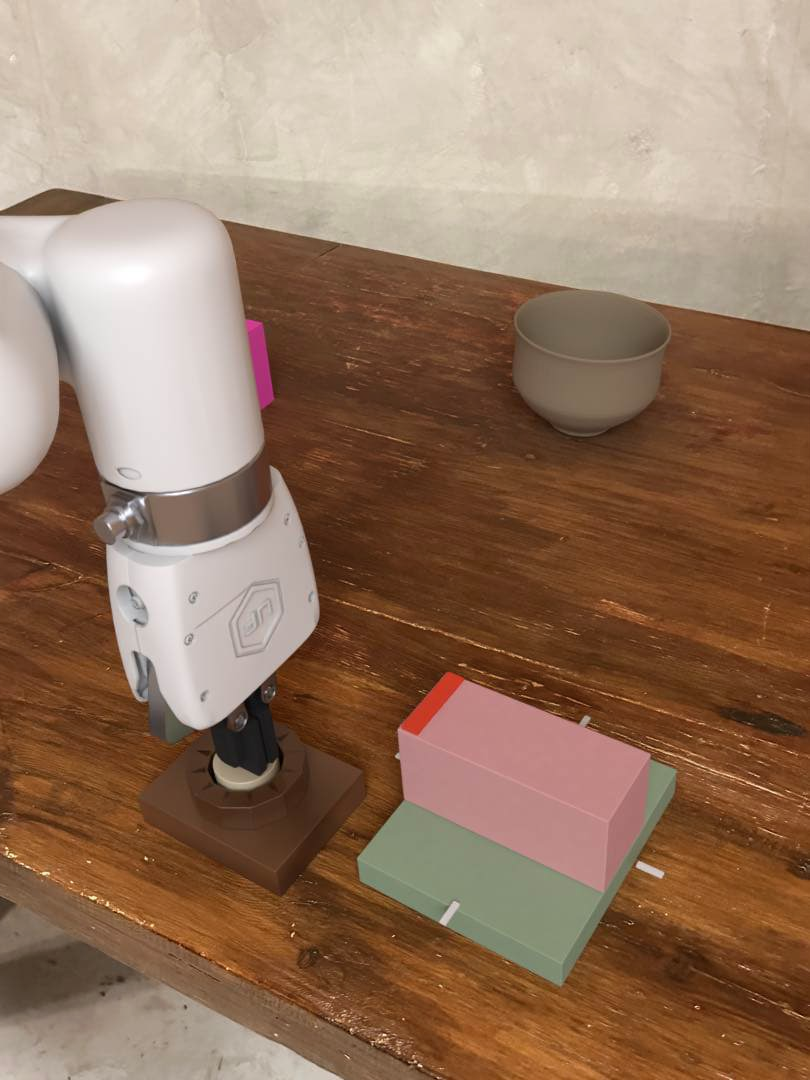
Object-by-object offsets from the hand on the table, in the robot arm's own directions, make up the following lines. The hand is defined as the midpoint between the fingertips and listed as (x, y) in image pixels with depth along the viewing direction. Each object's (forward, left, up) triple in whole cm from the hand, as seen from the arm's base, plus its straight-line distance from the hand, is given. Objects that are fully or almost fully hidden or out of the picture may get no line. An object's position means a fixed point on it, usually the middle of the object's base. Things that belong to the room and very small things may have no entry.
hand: (248, 757), depth 62 cm
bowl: (+47, +2, -5) cm, 47 cm away
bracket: (+32, +34, -5) cm, 47 cm away
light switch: (0, 0, -4) cm, 4 cm away
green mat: (+6, -14, -4) cm, 16 cm away
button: (0, 0, -2) cm, 2 cm away
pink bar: (+6, -14, -2) cm, 15 cm away
